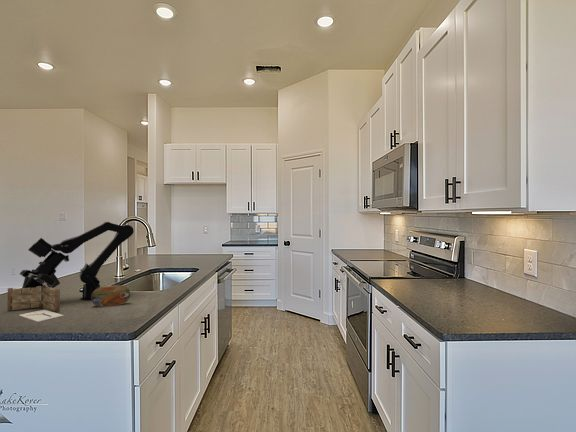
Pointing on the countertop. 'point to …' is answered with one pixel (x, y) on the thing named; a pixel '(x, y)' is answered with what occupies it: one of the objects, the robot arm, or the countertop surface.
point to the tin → (110, 296)
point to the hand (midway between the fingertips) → (21, 295)
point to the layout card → (40, 315)
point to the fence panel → (23, 298)
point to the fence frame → (50, 298)
